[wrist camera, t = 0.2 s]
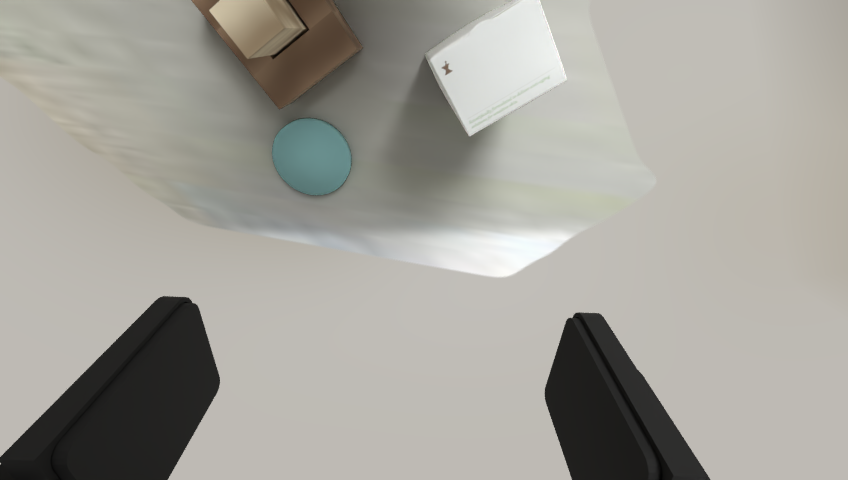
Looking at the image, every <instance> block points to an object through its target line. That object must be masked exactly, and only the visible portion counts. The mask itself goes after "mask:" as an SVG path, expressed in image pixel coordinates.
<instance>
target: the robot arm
mask: <svg viewBox="0 0 848 480" xmlns="http://www.w3.org/2000/svg"><path fill="white" fill-rule="evenodd" d="M219 384H220V377H219V374H218V370H217V367H216V364H215V360H214V357H213V354H212V351H211V347H210V344H209V341H208V337H207V334H206V331H205V327H204V324H203V321H202V317H201V314H200V311H199V308H198V306H197V305H196V304H194V303H192V301H191V300H190V299H189V298H186V297H168V296H167V297H166V296H163V297H160V298H158V299H157V300H156V301H155V302H154V303H153V304H152V305H151V306H150V307H149V308H148V309H147V310H146V311H145V312H144V313H143V314H142V315H141V316H140V317H139V318H138V319H137V320H136V321H135V322H134V323H133V324H132V325H131V326H130V327H129V328H128V329H127V330H126V331H125V332H124V333H123V334H122V335H121V336H120V337H119V338H118V339H117V340H116V341H115V342H114V343H113V344H112V345H111V346H110V347H109V348H108V349H107V350H106V351H105V352H104V353H103V354H102V355H101V356H100V357H99V358H98V359H97V360H96V361H95V362H94V363H93V364H92V365H91V366H90V367H89V368H88V369H87V370H86V372H84V373H83V374H82V375H81V376H80V377H79V378H78V379H77V381H75V382H74V384H72V386H70V387H69V388H68V389H67V391H65V393H64V394H63V395H62V396H61V397H60V398H59V399H58V400H57V401H56V402H55V403H54V404H53V405H52V406H51V407H50V408H49V409H48V410H47V411H46V412H45V413H44V414H43V415H42V416H41V417H40V418H39V419H38V420H37V421H36V422H35V423H34V424H33V425H32V426H31V427H30V428H29V429H28V430H27V431H26V432H25V433H24V434H23V435H22V436H21V437H20V438H19V439H18V440H17V441H16V442H15V443H14V444H13V445H12V446H11V447H10V448H9V449H8V450H7V451H6V452H5V453H4V454H3V455H2V456H1V457H0V463H1V465H0V480H168V478H169V476H170V474H171V473H172V471H173V469H174V467H175V466H176V464H177V462H178V460H179V459H180V457H181V455H182V453H183V452H184V450H185V448H186V446H187V444H188V443H189V441H190V439H191V437H192V436H193V434H194V432H195V430H196V429H197V427H198V425H199V423H200V422H201V420H202V418H203V416H204V415H205V413H206V411H207V409H208V407H209V406H210V404H211V402H212V401H213V399H214V397H215V395H216V393H217V391H218V389H219ZM545 400H546V404H547V407H548V410H549V413H550V416H551V419H552V422H553V425H554V427H555V430H556V433H557V436H558V439H559V442H560V445H561V448H562V451H563V454H564V457H565V460H566V463H567V466H568V468H569V472H570V475H571V477H572V480H710V478H709V477H708V475H707V474H706V472H705V471H704V469H703V467H702V466H701V464H700V463H699V461H698V460H697V458H696V457H695V455H694V454H693V452H692V450H691V449H690V448H689V446H688V444H687V443H686V441H685V440H684V438H683V437H682V435H681V434H680V432H679V430H678V429H677V427H676V426H675V425H674V423H673V421H672V420H671V418H670V417H669V415H668V414H667V412H666V410H665V409H664V407H663V406H662V404H661V403H660V401H659V400H658V398H657V397H656V395H655V394H654V392H653V390H652V389H651V387H650V386H649V384H648V383H647V381H646V380H645V378H644V377H643V375H642V374H641V373H640V372H639V371H638V370H637V369H636V367H635V365H634V364H633V362H632V361H631V359H630V358H629V356H628V355H627V353H626V351H625V350H624V348H623V347H622V345H621V344H620V342H619V341H618V339H617V338H616V336H615V335H614V333H613V331H612V330H611V328H610V327H609V325H608V324H607V322H606V320H605V319H604V317H603V316H602V315H601V314H599V313H575V314H574V316H573V318H568V319H567V321H566V324H565V327H564V330H563V333H562V336H561V340H560V343H559V346H558V349H557V352H556V356H555V359H554V362H553V365H552V368H551V372H550V375H549V378H548V381H547V384H546V387H545Z"/></svg>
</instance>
